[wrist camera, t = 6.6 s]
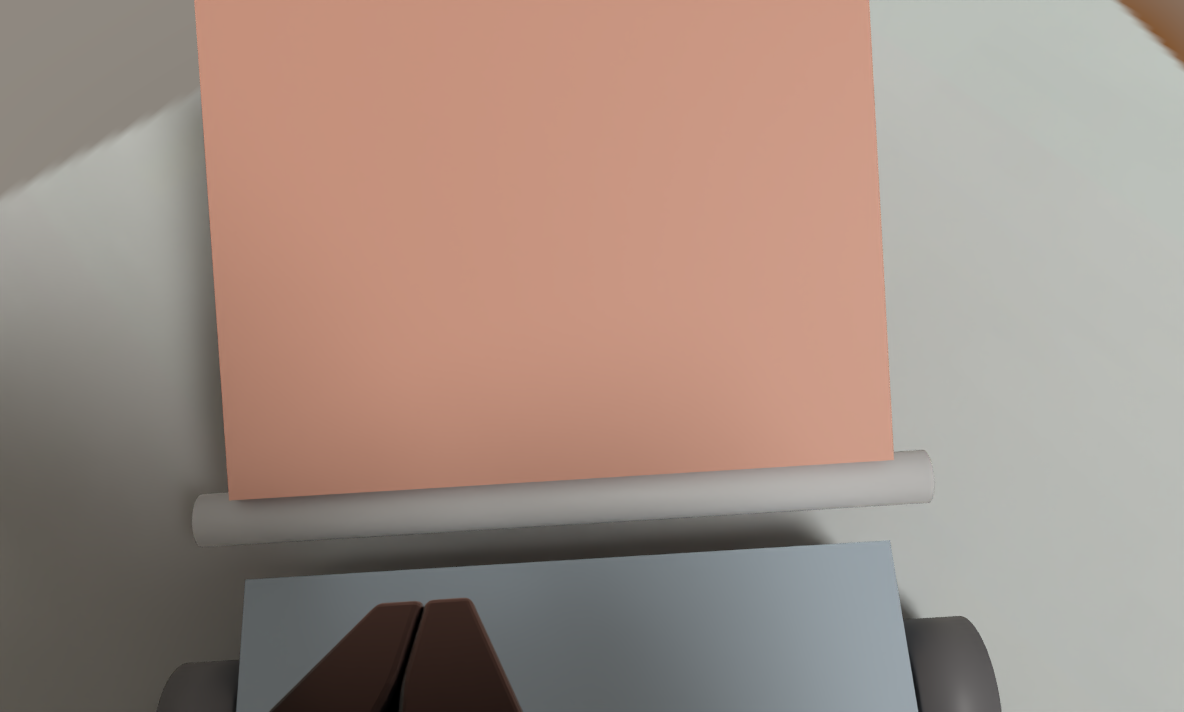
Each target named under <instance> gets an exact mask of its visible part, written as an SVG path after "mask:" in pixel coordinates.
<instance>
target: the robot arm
mask: <svg viewBox="0 0 1184 712" xmlns="http://www.w3.org/2000/svg"><path fill="white" fill-rule="evenodd" d="M269 712H523V710H522V708H521V706H520V703H519V701H518V699H517V697H516V695H515V692H514V690H513V688H512V686H511V684H510V682H509V679H508V677H507V675H506V673H505V671H504V668H503V666H502V664H501V662H500V660H499V657H498V655H497V653H496V651H495V649H494V647H493V644H492V642H491V640H490V638H489V636H488V633H487V631H486V629H485V627H484V625H483V623H482V620H481V618H480V616H479V614H478V612H477V609H476V607H475V605H474V603H473V602H472V601H471V599H469V598H452V599H437V600H431V601H429V602H427V603H426V604H425V606H424V605H423V604H422V603H421V602H419V601H408V602H392V603H381V604H378V605H377V606H375V607H374V608H373V609H371V610H370V611H369V612H368V613H367V614H366V615H365V616H364V617H363V618H362V619H361V620H360V621H359V622H358V623H357V624H356V625H355V626H354V627H353V628H352V629H351V630H350V631H349V632H348V633H347V634H346V635H345V636H344V637H343V638H342V639H341V640H340V641H339V642H338V643H337V644H336V645H335V646H334V647H333V648H332V649H331V650H330V651H329V652H328V653H327V654H326V655H325V656H324V657H323V658H322V659H321V660H320V661H319V662H318V663H317V664H316V665H315V666H314V667H313V668H312V669H311V670H310V671H309V672H308V673H307V674H306V675H305V676H304V677H303V678H302V679H301V680H300V681H299V682H298V683H297V684H296V685H295V686H294V687H293V688H292V689H291V690H290V691H289V692H288V693H287V694H286V695H285V696H284V697H283V698H282V699H281V700H280V701H279V702H278V703H277V704H276V705H275V706H274V707H273V708H272V709H271V710H270V711H269Z"/></svg>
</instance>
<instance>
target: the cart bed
mask: <svg viewBox="0 0 1184 712" xmlns="http://www.w3.org/2000/svg"><path fill="white" fill-rule="evenodd" d="M452 598H469V599H471V601H472V602H473V603H474V605H475V607H476V609H477V612H478V614H479V616H480V618H481V620H482V623H483V625H484V627H485V629H486V631H487V633H488V636H489V638H490V640H491V642H492V644H493V647H494V649H495V651H496V653H497V655H498V657H499V660H500V662H501V664H502V666H503V668H504V671H505V673H506V675H507V677H508V679H509V682H510V684H511V686H512V688H513V690H514V692H515V695H516V697H517V699H518V701H519V703H520V706H521V708H522V710H523V712H1001V704H1000V698H999V692H998V687H997V682H996V678H995V674H994V670H993V667H992V664H991V660H990V657H989V655H988V652H987V649H986V647H985V645H984V642H983V640H982V638H981V636H980V635H979V633H978V631H977V630H976V628H975V627H974V625H973V624H972V623H971V622H970V621H969V620H968V619H967V618H965V617H962V616H953V617H936V618H920V619H903V617H902V611H901V605H900V599H899V593H898V587H897V581H896V575H895V569H894V563H893V557H892V551H891V545H890V540H889V541H873V542H857V543H840V544H824V545H807V546H791V547H774V548H758V549H742V550H725V551H709V552H692V553H676V554H659V555H643V556H627V557H610V558H594V559H577V560H561V561H545V562H528V563H512V564H495V565H479V566H462V567H446V568H430V569H413V570H397V571H380V572H364V573H347V574H331V575H315V576H298V577H282V578H265V579H249V580H245V592H244V606H243V621H242V635H241V650H240V660H230V661H213V662H197V663H186V664H183V665H181V666H179V667H178V668H177V669H176V670H175V671H174V673H173V674H172V675H171V677H170V678H169V680H168V682H167V684H166V686H165V688H164V690H163V693H162V695H161V698H160V701H159V704H158V708H157V711H156V712H269V711H270V710H271V709H272V708H273V707H274V706H275V705H276V704H277V703H278V702H279V701H280V700H281V699H282V698H283V697H284V696H285V695H286V694H287V693H288V692H289V691H290V690H291V689H292V688H293V687H294V686H295V685H296V684H297V683H298V682H299V681H300V680H301V679H302V678H303V677H304V676H305V675H306V674H307V673H308V672H309V671H310V670H311V669H312V668H313V667H314V666H315V665H316V664H317V663H318V662H319V661H320V660H321V659H322V658H323V657H324V656H325V655H326V654H327V653H328V652H329V651H330V650H331V649H332V648H333V647H334V646H335V645H336V644H337V643H338V642H339V641H340V640H341V639H342V638H343V637H344V636H345V635H346V634H347V633H348V632H349V631H350V630H351V629H352V628H353V627H354V626H355V625H356V624H357V623H358V622H359V621H360V620H361V619H362V618H363V617H364V616H365V615H366V614H367V613H368V612H369V611H370V610H371V609H373V608H374V607H375V606H377V605H378V604H381V603H392V602H408V601H419V602H421V603H422V604H423V605H424V606H425V604H426V603H427V602H429V601H431V600H437V599H452Z"/></svg>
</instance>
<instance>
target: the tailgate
mask: <svg viewBox="0 0 1184 712" xmlns="http://www.w3.org/2000/svg"><path fill="white" fill-rule="evenodd" d="M194 1H195V14H196V15H195V16H196V30H197V45H198V59H199V73H200V88H201V103H202V117H203V131H204V146H205V160H206V175H207V189H208V204H209V218H210V232H211V247H212V261H213V276H214V290H215V305H216V319H217V333H218V348H219V362H220V377H221V391H222V406H223V420H224V434H225V449H226V463H227V478H228V492H226V493H210V494H200V495H199V496H198V497H197V499H196V501H195V503H194V507H193V512H192V529H193V535H194V538H195V541H196V543H197V544H198V545H199V546H200V547H212V546H228V545H245V544H261V543H278V542H294V541H311V540H327V539H343V538H360V537H376V536H393V535H409V534H426V533H442V532H458V531H475V530H491V529H508V528H524V527H540V526H557V525H573V524H590V523H606V522H623V521H639V520H655V519H672V518H688V517H705V516H721V515H738V514H754V513H770V512H787V511H803V510H820V509H836V508H853V507H869V506H885V505H902V504H918V503H930V502H931V501H932V499H933V495H934V488H935V481H934V471H933V466H932V463H931V460H930V457H929V455H928V453H927V452H926V451H925V450H916V451H899V452H894V451H893V433H892V414H891V396H890V377H889V359H888V341H887V322H886V304H885V285H884V267H883V249H882V230H881V212H880V193H879V175H878V157H877V138H876V120H875V101H874V83H873V65H872V46H871V28H870V9H869V0H194Z"/></svg>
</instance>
